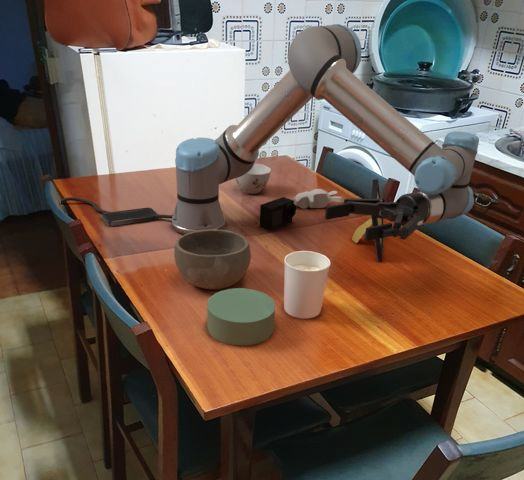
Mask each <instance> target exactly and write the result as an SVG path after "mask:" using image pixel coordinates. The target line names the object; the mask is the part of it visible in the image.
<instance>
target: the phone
mask: <svg viewBox="0 0 524 480" xmlns="http://www.w3.org/2000/svg"><path fill="white" fill-rule="evenodd" d="M113 212H115V213H113ZM121 213H124V214H121ZM148 214H157V212H156V211H155V210H154V209H153V208H152V207H142V208H141V207H140V208H133V209H125V210H117V211H116V210H115V211H109V212H108V213H101V219H102V220H103V221H104V223H105V224H106V226H109V227H114V226H123V225H129V224H130V225H131V224H137V223H138V224H139V223H143V222H152V221H157V220H159V218H157V216H153V215H148Z"/></svg>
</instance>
